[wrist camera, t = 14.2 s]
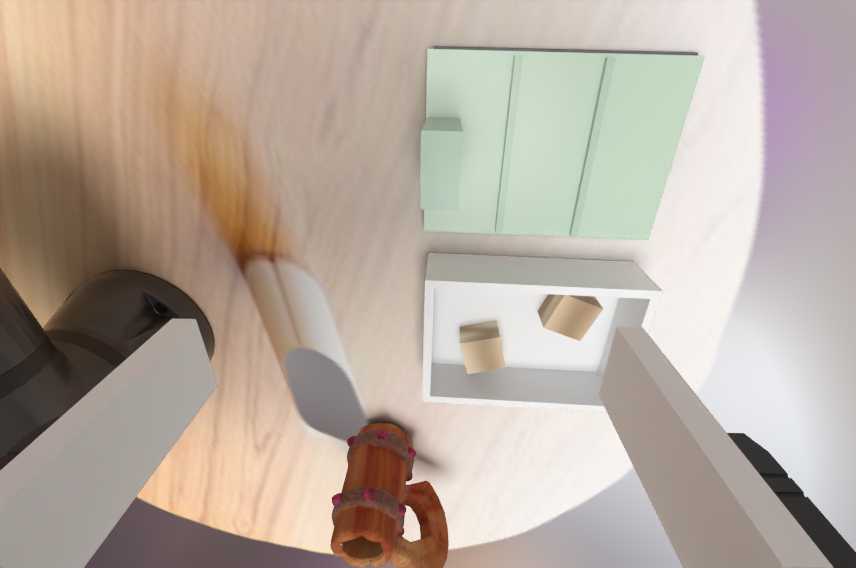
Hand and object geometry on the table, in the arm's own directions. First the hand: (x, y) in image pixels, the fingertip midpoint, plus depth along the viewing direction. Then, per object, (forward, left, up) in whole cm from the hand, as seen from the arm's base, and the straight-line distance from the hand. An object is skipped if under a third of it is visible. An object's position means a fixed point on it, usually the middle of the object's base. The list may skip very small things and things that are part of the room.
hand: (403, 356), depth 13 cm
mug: (-3, -35, -26) cm, 44 cm away
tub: (+10, -14, -26) cm, 31 cm away
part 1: (+6, -17, -25) cm, 31 cm away
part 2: (+14, -12, -25) cm, 31 cm away
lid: (+9, +3, -25) cm, 27 cm away
